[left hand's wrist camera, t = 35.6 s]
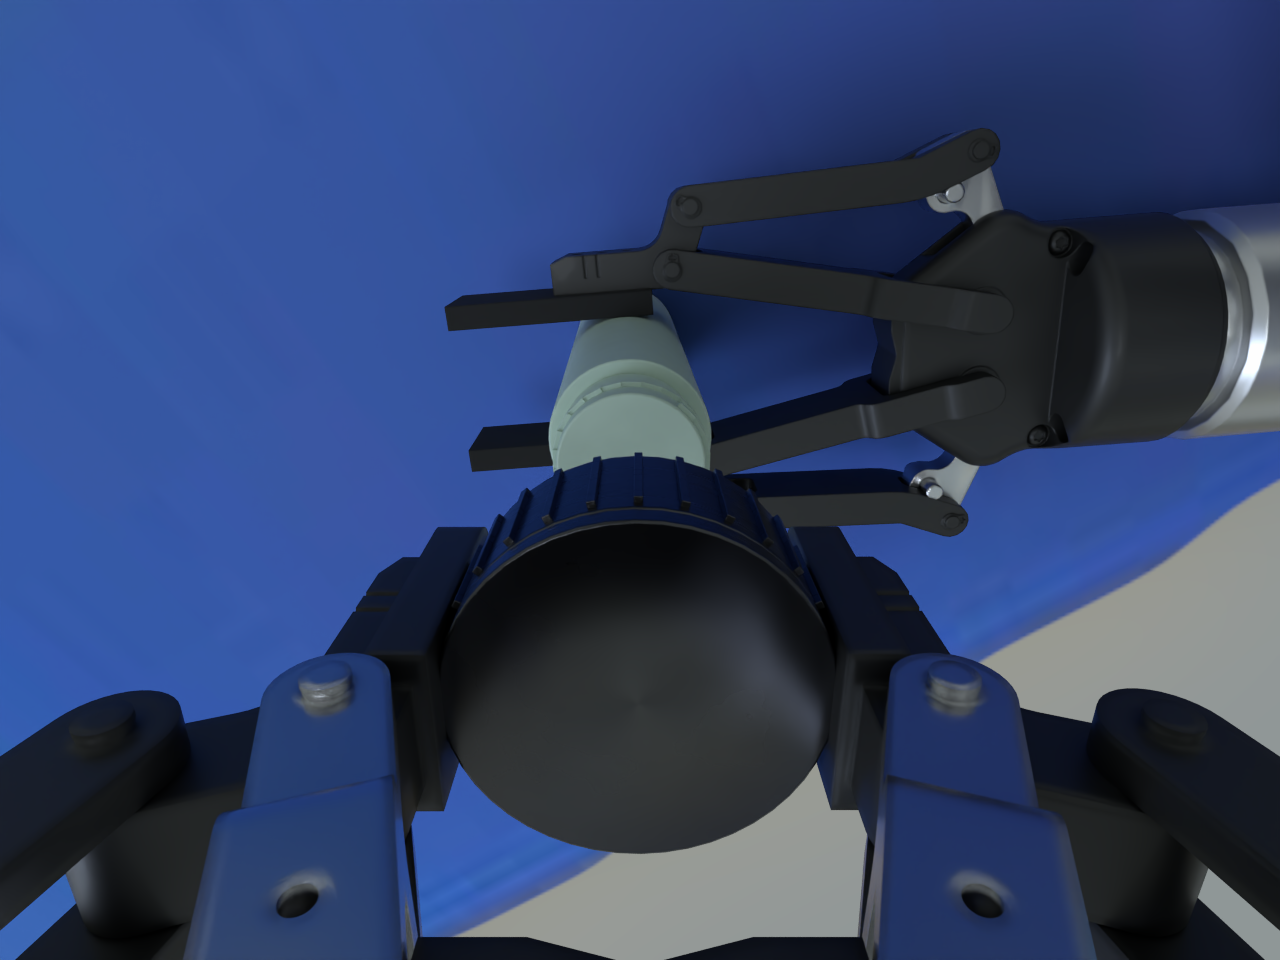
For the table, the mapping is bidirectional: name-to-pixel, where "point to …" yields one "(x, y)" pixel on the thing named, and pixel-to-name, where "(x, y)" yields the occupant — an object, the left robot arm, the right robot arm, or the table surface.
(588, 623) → the lid
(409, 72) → the table surface
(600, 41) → the table surface
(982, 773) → the left robot arm
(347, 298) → the table surface
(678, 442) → the pale green rounded cylinder
